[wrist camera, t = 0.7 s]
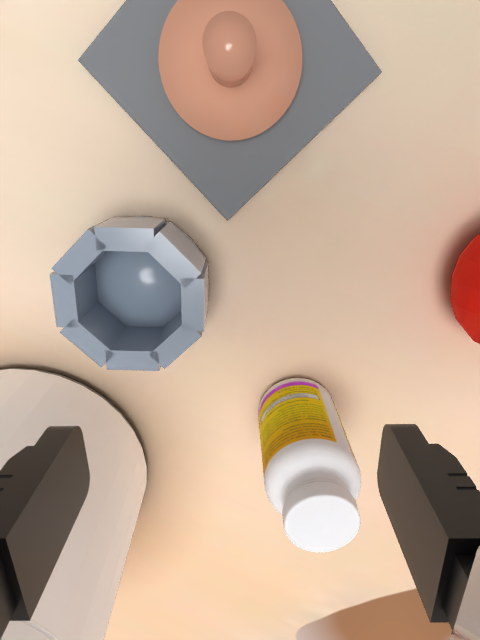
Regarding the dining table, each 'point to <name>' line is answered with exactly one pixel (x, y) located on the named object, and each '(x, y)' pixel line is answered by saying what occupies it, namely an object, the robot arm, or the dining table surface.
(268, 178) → the mat
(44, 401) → the bucket
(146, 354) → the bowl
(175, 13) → the lid
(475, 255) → the tomato
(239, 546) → the dining table surface
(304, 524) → the supplement bottle
